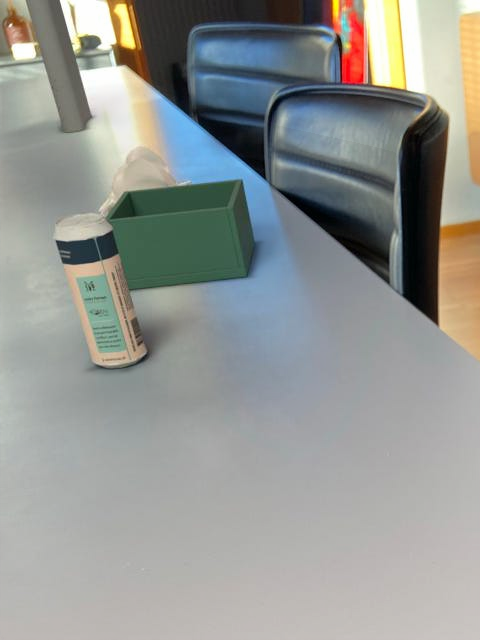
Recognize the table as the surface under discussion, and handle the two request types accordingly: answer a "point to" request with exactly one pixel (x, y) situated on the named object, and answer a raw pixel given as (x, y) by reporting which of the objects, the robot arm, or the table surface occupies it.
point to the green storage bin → (183, 233)
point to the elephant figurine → (139, 175)
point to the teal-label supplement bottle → (99, 289)
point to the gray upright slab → (60, 63)
